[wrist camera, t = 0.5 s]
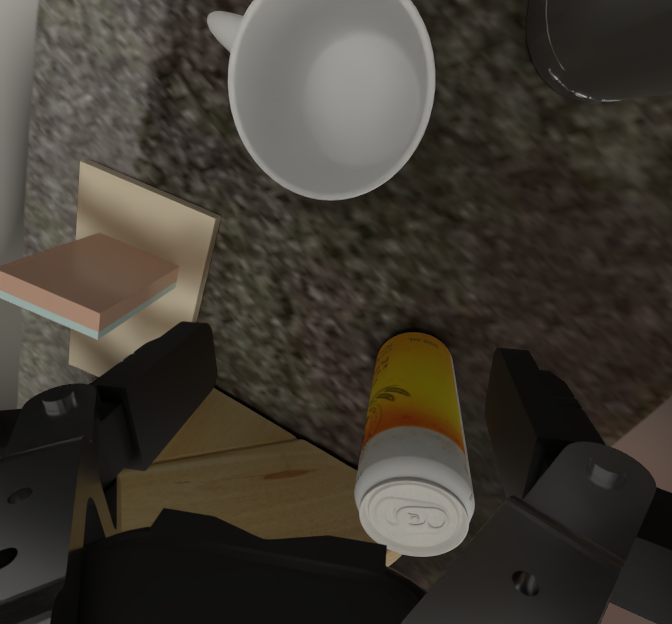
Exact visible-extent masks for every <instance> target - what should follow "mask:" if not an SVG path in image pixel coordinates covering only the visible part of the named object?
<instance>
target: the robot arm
mask: <svg viewBox="0 0 672 624" xmlns="http://www.w3.org/2000/svg"><path fill="white" fill-rule="evenodd" d="M526 32H527V45H528V49H529V52H530V56H531V59H532V62H533V64H534V66H535V68H536V69H537V71H538V73H539V75H540V77H541V78H542V79H543V80H544V81H545V82H546V83H547V84H548V85H549V86H550V87H551V88H552V89H554V90H555V91H557V92H559V93H560V94H562V95H564V96H565V97H568V98H572V99H575V100H579V101H582V102H611V101H621V100H623V99H630V98H640V97H648V96H656V95H664V94H672V0H530V1H529V5H528V13H527V21H526ZM216 378H217V366H216V358H215V350H214V342H213V335H212V329H211V327H210V325H209V324H207V323H199V322H187V321H182V322H180V323H178V324H177V325H176V326H174V327H173V328H171V329H170V330H169V331H167V332H166V333H165V334H163V335H162V336H161V337H159V338H156V339H154V340H152V341H149V342H147V343H145V344H144V345H143V346H141V347H140V348H138V349H137V350H136V351H134V353H133V354H130V355H129V356H127V357H126V358H125V359H123V362H119V363H118V364H117V365H115V366H114V367H112V368H111V369H110V370H108V371H107V372H106V373H104V374H103V375H101V376H100V377H99V378H97V379H96V380H95V381H93V382H92V383H91V384H89V385H88V384H83V383H74V384H66V385H61V386H57V387H54V388H51V389H48V390H46V391H43V392H41V393H39V394H37V395H36V396H34V397H32V398H31V399H29V400H28V401H27V402H26V403H25V404H24V405H23V407H22V408H21V409H14V410H2V411H0V624H600V623H601V621H602V619H603V616H604V614H605V612H606V609H607V607H608V605H609V602H610V603H612V604H615V605H617V606H619V607H621V608H623V609H626V610H628V611H630V612H632V613H635V614H637V615H639V616H641V617H643V618H645V619H648V620H650V621H652V622H654V623H657V624H672V493H670V492H667V491H665V490H662V489H659V488H657V487H656V483H655V481H654V478H653V477H652V475H651V474H650V472H649V471H648V470H647V469H646V468H645V467H644V466H642V464H640V463H639V462H638V461H636V460H635V459H634V458H632V457H630V456H629V455H627V454H625V453H623V452H621V451H619V450H617V449H614V448H612V447H609V446H606V444H605V443H604V441H603V440H602V438H601V437H600V435H599V434H598V432H597V431H596V429H595V427H594V426H593V424H592V423H591V421H590V420H589V418H588V417H587V415H586V413H585V412H584V410H582V407H581V406H580V404H579V403H578V401H577V400H576V399H574V395H573V393H572V392H571V390H570V389H569V387H568V386H567V384H566V383H565V382H564V381H562V380H561V379H560V378H558V377H557V376H556V375H554V374H553V373H552V372H550V371H544V370H539V368H538V366H537V365H536V363H535V361H534V359H533V357H532V356H531V354H530V352H529V351H528V350H518V349H506V348H497V349H496V350H495V353H494V356H493V362H492V367H491V373H490V379H489V384H488V390H487V395H486V403H485V417H486V423H487V427H488V431H489V435H490V439H491V442H492V446H493V450H494V454H495V458H496V461H497V465H498V469H499V473H500V477H501V480H502V484H503V488H504V492H505V496H506V501H505V502H504V503H503V504H502V505H501V506H500V507H499V509H498V510H497V511H496V512H495V513H494V514H493V516H492V517H491V518H490V519H489V520H488V522H487V523H486V524H485V525H484V526H483V527H482V529H481V530H480V531H479V532H478V533H477V534H476V536H475V537H474V538H473V539H472V540H471V542H470V543H469V544H468V545H467V546H466V547H465V549H464V550H463V551H462V552H461V553H460V554H459V556H458V557H457V558H456V559H455V560H454V561H453V563H452V564H451V565H450V566H449V567H448V569H447V570H446V571H445V572H444V573H443V574H442V576H441V577H440V578H439V579H438V580H437V581H436V583H435V584H434V585H433V586H432V587H431V589H430V590H429V591H428V592H426V591H425V590H424V589H423V588H422V587H420V586H419V585H418V584H416V583H415V582H414V581H413V580H411V579H410V578H408V577H406V576H405V575H403V574H401V573H400V572H398V571H396V570H394V569H392V568H390V567H387V566H386V552H387V545H384V544H378V543H372V542H366V541H360V540H354V539H348V538H342V537H336V536H330V535H324V536H310V537H296V538H282V539H263V538H260V537H258V536H256V535H253V534H251V533H249V532H247V531H245V530H243V529H241V528H239V527H236V526H234V525H232V524H230V523H228V522H226V521H224V520H222V519H219V518H217V517H215V516H210V515H204V514H198V513H192V512H186V511H180V510H174V509H168V508H163V510H162V511H161V512H160V514H159V515H158V517H157V518H156V520H155V521H154V522H153V524H152V525H151V527H143V528H137V529H132V530H128V531H125V532H122V523H121V482H120V478H119V475H118V474H119V473H120V472H121V471H122V470H123V469H124V468H127V469H133V470H140V471H146V470H147V469H148V467H149V466H150V465H151V464H152V462H153V461H154V460H155V459H156V458H157V456H158V455H159V454H160V453H161V452H162V450H163V449H164V448H165V447H166V446H167V444H168V443H169V442H170V441H171V440H172V438H173V437H174V436H175V435H176V434H177V432H178V431H179V430H180V429H181V428H182V426H183V425H184V424H185V423H186V421H187V420H188V419H189V418H190V417H191V415H192V414H193V413H194V412H195V411H196V409H197V408H198V407H199V406H200V405H201V403H202V402H203V401H204V400H205V399H206V397H207V396H208V395H209V394H210V393H211V391H212V390H213V388H214V386H215V383H216Z"/></svg>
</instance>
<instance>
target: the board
mask: <svg viewBox="0 0 672 624" xmlns="http://www.w3.org/2000/svg"><path fill="white" fill-rule="evenodd" d="M220 220H221V216H220V215H218V214H215V213H213V212H211V211H208V210H206V209H204V208H201V207H199V206H197V205H194V204H192V203H190V202H187V201H185V200H183V199H180V198H178V197H176V196H173V195H171V194H169V193H166V192H164V191H162V190H159V189H157V188H154V187H152V186H150V185H147V184H145V183H143V182H140V181H138V180H136V179H133V178H131V177H129V176H126V175H124V174H122V173H119V172H117V171H115V170H112V169H110V168H108V167H105V166H103V165H101V164H98V163H96V162H94V161H91V160H85V161H80V176H79V193H78V211H77V228H76V240H79V239H82V238H85V237H87V236H90V235H93V234H96V233H99V232H100V233H102V234H105V235H107V236H109V237H112V238H114V239H116V240H119V241H121V242H123V243H126V244H128V245H130V246H133V247H135V248H137V249H140V250H142V251H144V252H147V253H149V254H151V255H154V256H156V257H158V258H161V259H163V260H165V261H168V262H170V263H172V264H175V265H177V266H179V272H178V277H177V282H176V287H175V288H174V289H173V290H171V291H170V292H168V293H167V294H165V295H164V296H162V297H161V298H159V299H158V300H156V301H155V302H153V303H152V304H150V305H149V306H147V307H146V308H144V309H143V310H141V311H140V312H138V313H137V314H135V315H134V316H132V317H131V318H129V319H128V320H126V321H125V322H124V323H122V324H121V325H119V326H118V327H116V328H115V329H113V330H112V331H110V332H109V333H107V334H106V335H104V336H103V337H101V338H100V339H98V340H97V339H95V338H92V337H90V336H88V335H85V334H83V333H81V332H78V331H76V330H74V329H71V333H70V351H69V365H72V366H74V367H76V368H79V369H81V370H83V371H86V372H88V373H90V374H93V375H95V376H97V377H100V376H101V375H103V374H104V373H106V372H107V371H108V370H110V369H111V368H112V367H114V366H115V365H117V364H118V363H119V362H123V359H125V358H126V357H127V356H129V355H130V354H133V353H134V351H136V350H137V349H138V348H140V347H141V346H143V345H144V344H145V343H147V342H149V341H152V340H154V339H156V338H159V337H161V336H162V335H163V334H165V333H166V332H167V331H169V330H170V329H171V328H173V327H174V326H176V325H177V324H178V323H180V322H182V321H187V322H197V318H198V314H199V309H200V305H201V301H202V297H203V292H204V288H205V284H206V280H207V275H208V271H209V267H210V262H211V258H212V254H213V250H214V245H215V241H216V237H217V233H218V228H219V224H220Z"/></svg>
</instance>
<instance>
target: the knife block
mask: <svg viewBox="0 0 672 624" xmlns="http://www.w3.org/2000/svg"><path fill="white" fill-rule="evenodd" d="M118 475H119V478H120V482H121V523H122V532H125V531H128V530H132V529H137V528H143V527H151V525H152V524H153V522H154V521H155V520H156V518H157V517H158V515H159V514H160V512H161V511H162V510H163V508H168V509H174V510H180V511H186V512H192V513H198V514H204V515H210V516H215V517H217V518H219V519H222V520H224V521H226V522H228V523H230V524H232V525H234V526H236V527H239V528H241V529H243V530H245V531H247V532H249V533H251V534H253V535H256V536H258V537H260V538H263V539H282V538H296V537H310V536H324V535H330V536H336V537H342V538H348V539H354V540H360V541H366V542H372V543H377V542H376V541H374V540H373V539H372V538H371V537H370V536H369V535H368V534H367V533H366V531H365V530H364V528H363V526H362V524H361V522H360V518H359V510H358V508H357V505H356V502H355V497H354V489H355V483H356V477H357V470H355V469H353V468H351V467H350V466H348V465H346V464H344V463H343V462H341V461H339V460H338V459H336V458H334V457H333V456H331V455H329V454H327V453H326V452H324V451H322V450H321V449H319V448H317V447H316V446H314V445H312V444H310V443H309V442H307V441H305V440H301V439H300V440H297V438H296V437H295V436H294V435H292V434H291V433H289V432H287V431H286V430H284V429H282V428H281V427H279V426H277V425H276V424H274V423H272V422H271V421H269V420H267V419H266V418H264V417H262V416H260V415H259V414H257V413H255V412H254V411H252V410H250V409H249V408H247V407H245V406H244V405H242V404H240V403H239V402H237V401H235V400H233V399H232V398H230V397H228V396H227V395H225V394H223V393H222V392H220V391H218V390H216V389H215V388H213V390H212V391H211V393H210V394H209V395H208V396H207V397H206V399H205V400H204V401H203V402H202V403H201V405H200V406H199V407H198V408H197V409H196V411H195V412H194V413H193V414H192V415H191V417H190V418H189V419H188V420H187V421H186V423H185V424H184V425H183V426H182V428H181V429H180V430H179V431H178V432H177V434H176V435H175V436H174V437H173V438H172V440H171V441H170V442H169V443H168V444H167V446H166V447H165V448H164V449H163V450H162V452H161V453H160V454H159V455H158V456H157V458H156V459H155V460H154V461H153V462H152V464H151V465H150V466H149V467H148V469H147V470H146V471H140V470H133V469H127V468H124V469H123V470H122V471H121V472H120V473H119V474H118ZM401 555H402V554H400V553H397V552H394V551H392V550H389V549H387V552H386V566H387V567H388V566H390V565H391V564H392V563H393V562H394V561H396V560H397V559H398V558H399V557H400V556H401Z"/></svg>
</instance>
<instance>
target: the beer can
mask: <svg viewBox="0 0 672 624" xmlns="http://www.w3.org/2000/svg"><path fill="white" fill-rule="evenodd" d="M354 497H355V502H356V505H357V508H358V510H359V518H360V522H361V524H362V526H363V528H364V530H365V531H366V533H367V534H368V535H369V536H370V537H371V538H372V539H373V540H374V541H376V542H377V543H378V544H384V545H387V549H389V550H392V551H394V552H397V553H400V554H404V555H410V556H423V557H425V556H434V555H439V554H443V553H446V552H448V551H450V550H452V549H454V548H455V547H457V546H458V545H459V544H460V543H461V542H462V541H463V540H464V538H465V537H466V534H467V532H468V528H469V522H470V520H471V517H472V515H473V512H474V506H475V503H474V495H473V489H472V482H471V476H470V469H469V463H468V456H467V450H466V443H465V437H464V431H463V424H462V418H461V411H460V405H459V398H458V392H457V385H456V379H455V372H454V366H453V360H452V356H451V354H450V352H449V350H448V349H447V347H446V346H445V345H444V344H443V343H442V342H441V341H439V340H438V339H436V338H435V337H433V336H430V335H428V334H424V333H419V332H409V333H403V334H399V335H397V336H395V337H393V338H391V339H389V340H388V341H387V342H386V343H385V344H384V345H383V346H382V347H381V349H380V351H379V353H378V355H377V360H376V366H375V372H374V377H373V383H372V389H371V395H370V401H369V407H368V413H367V418H366V424H365V430H364V436H363V442H362V448H361V454H360V459H359V465H358V471H357V477H356V483H355V489H354Z"/></svg>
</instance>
